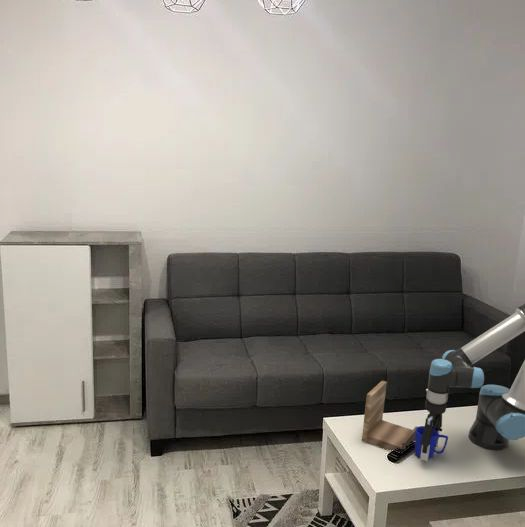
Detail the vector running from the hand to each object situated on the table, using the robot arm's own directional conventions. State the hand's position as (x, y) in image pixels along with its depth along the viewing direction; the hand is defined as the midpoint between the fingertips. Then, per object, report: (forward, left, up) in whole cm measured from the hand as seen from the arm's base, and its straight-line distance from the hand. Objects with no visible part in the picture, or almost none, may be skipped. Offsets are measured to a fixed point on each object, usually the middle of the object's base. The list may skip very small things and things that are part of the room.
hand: (428, 452), depth 233 cm
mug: (0, 0, -1) cm, 1 cm away
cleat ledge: (+16, -2, -1) cm, 16 cm away
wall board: (+24, -2, -1) cm, 24 cm away
